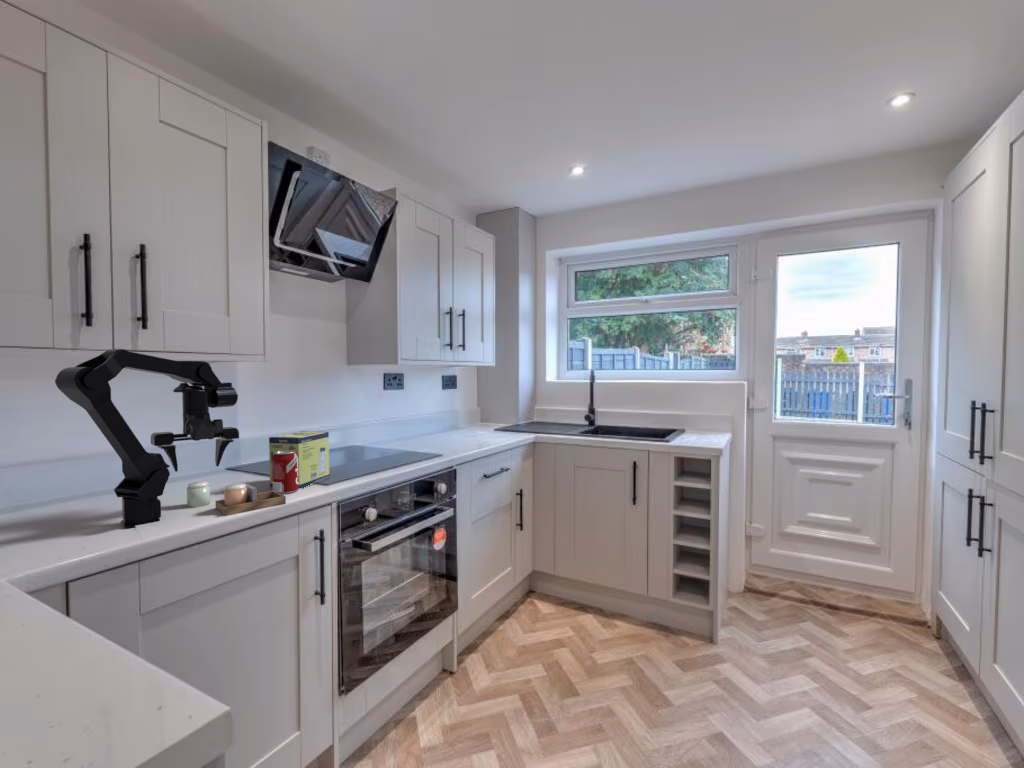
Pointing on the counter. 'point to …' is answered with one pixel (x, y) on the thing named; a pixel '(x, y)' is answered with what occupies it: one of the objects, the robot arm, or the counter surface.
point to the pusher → (251, 493)
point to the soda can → (285, 472)
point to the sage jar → (198, 494)
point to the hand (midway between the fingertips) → (197, 468)
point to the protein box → (304, 454)
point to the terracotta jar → (235, 494)
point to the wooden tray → (253, 503)
